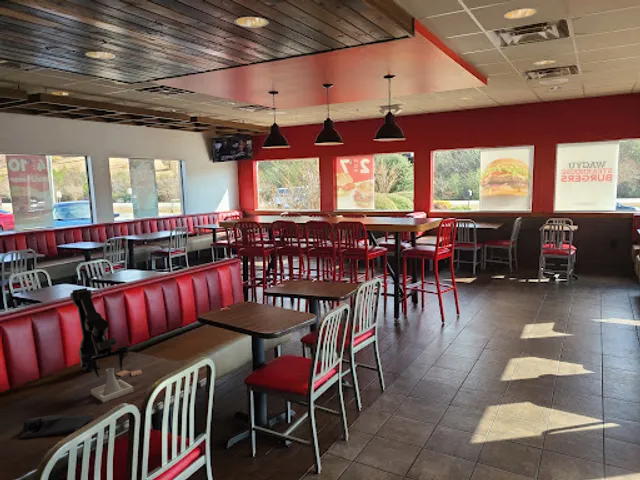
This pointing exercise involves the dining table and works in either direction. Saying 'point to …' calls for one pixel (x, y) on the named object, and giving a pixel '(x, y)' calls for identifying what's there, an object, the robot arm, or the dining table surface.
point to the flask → (111, 383)
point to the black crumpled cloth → (53, 425)
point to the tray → (104, 398)
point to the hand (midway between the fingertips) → (110, 373)
